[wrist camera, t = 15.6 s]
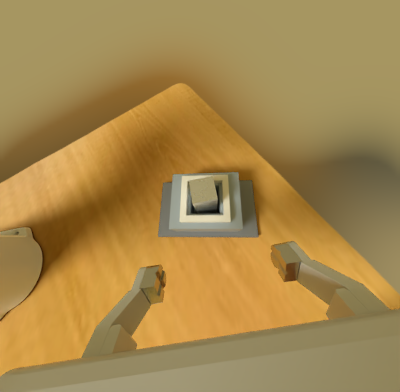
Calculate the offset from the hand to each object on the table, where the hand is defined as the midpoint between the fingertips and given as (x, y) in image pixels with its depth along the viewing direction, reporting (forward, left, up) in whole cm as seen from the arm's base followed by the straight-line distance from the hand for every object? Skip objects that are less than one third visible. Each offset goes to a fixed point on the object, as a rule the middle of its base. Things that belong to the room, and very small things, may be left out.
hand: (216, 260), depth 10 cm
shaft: (-1, +8, -18) cm, 20 cm away
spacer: (-1, +8, -12) cm, 15 cm away
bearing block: (-1, +8, -19) cm, 21 cm away
